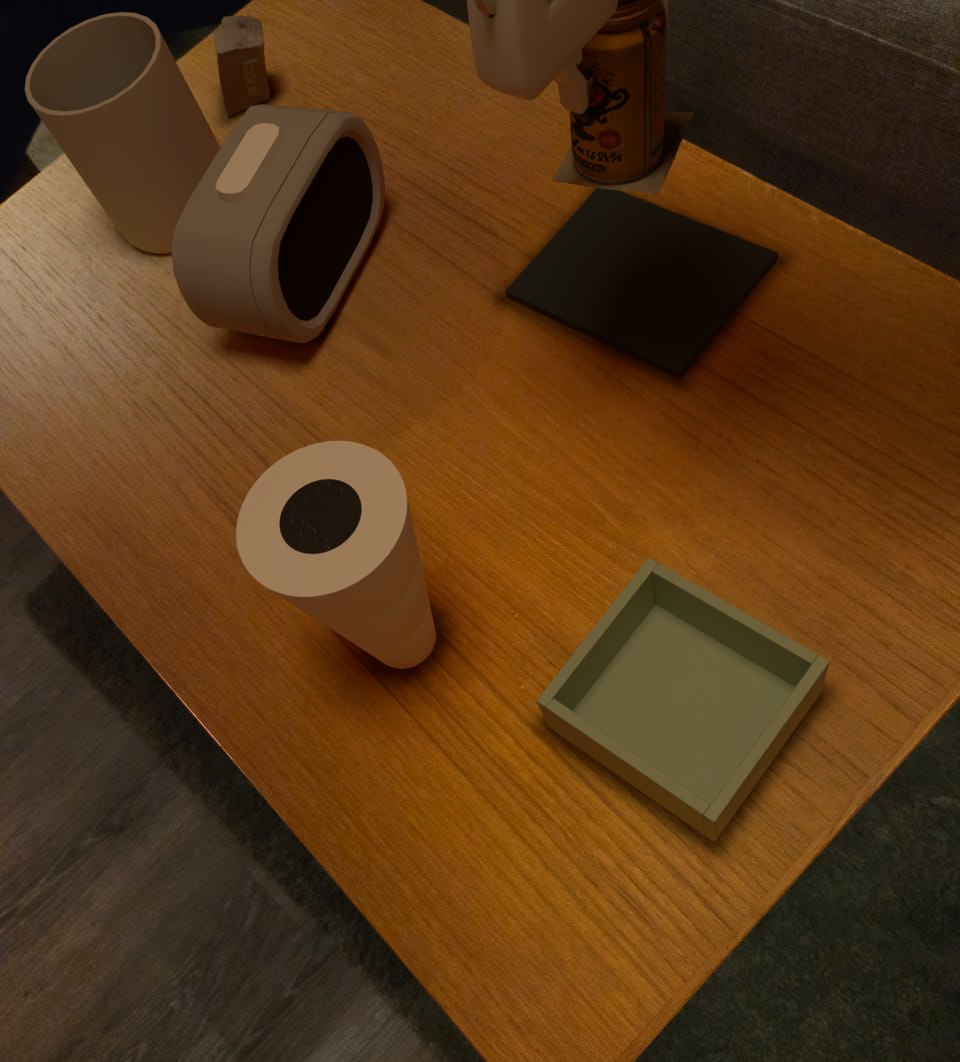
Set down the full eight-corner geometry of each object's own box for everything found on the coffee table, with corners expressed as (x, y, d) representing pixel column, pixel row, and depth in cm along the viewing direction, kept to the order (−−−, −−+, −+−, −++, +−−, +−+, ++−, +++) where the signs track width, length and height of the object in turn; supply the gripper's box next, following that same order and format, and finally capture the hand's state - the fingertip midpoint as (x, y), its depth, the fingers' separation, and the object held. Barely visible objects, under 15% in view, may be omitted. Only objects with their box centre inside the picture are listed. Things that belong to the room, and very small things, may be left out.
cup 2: (386, 734, 71) (291, 631, 55) (312, 634, 76) (206, 513, 60) (502, 645, 72) (442, 518, 56) (422, 551, 77) (346, 410, 61)
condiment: (551, 183, 65) (536, -7, 55) (591, 105, 69) (584, -87, 58) (658, 197, 63) (663, 2, 53) (694, 116, 67) (705, -82, 56)
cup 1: (147, 278, 97) (49, 138, 82) (91, 181, 105) (-7, 39, 91) (260, 211, 97) (182, 59, 83) (195, 119, 105) (114, -32, 91)
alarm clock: (310, 374, 87) (246, 261, 75) (222, 357, 90) (147, 245, 78) (400, 203, 93) (354, 73, 81) (315, 192, 97) (259, 66, 85)
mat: (777, 259, 81) (778, 252, 80) (679, 379, 78) (679, 373, 78) (601, 190, 89) (600, 183, 88) (506, 297, 86) (505, 290, 85)
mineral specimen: (230, 132, 102) (189, 53, 96) (226, 99, 108) (188, 22, 101) (294, 104, 101) (258, 22, 95) (287, 72, 107) (252, -8, 101)
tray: (821, 692, 66) (830, 660, 61) (714, 842, 63) (714, 822, 58) (653, 592, 71) (648, 556, 66) (548, 727, 69) (535, 700, 64)
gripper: (514, -52, 45) (556, 194, 57) (762, -307, 49) (751, -26, 61) (412, -81, 47) (473, 160, 60) (656, -320, 51) (666, -49, 64)
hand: (615, 64), depth 60 cm, fingers closed on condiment, 6 cm apart
